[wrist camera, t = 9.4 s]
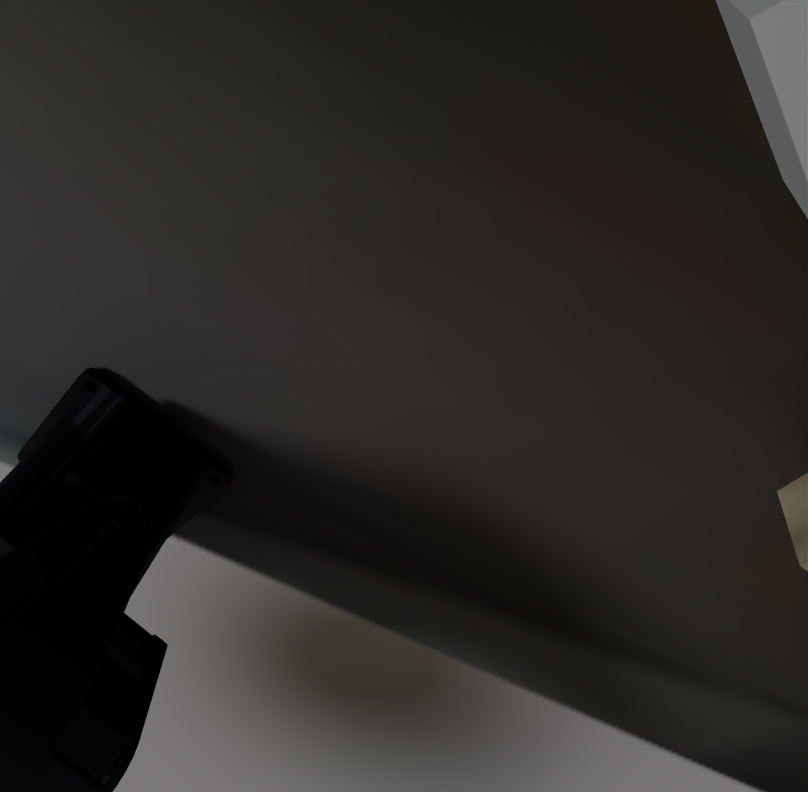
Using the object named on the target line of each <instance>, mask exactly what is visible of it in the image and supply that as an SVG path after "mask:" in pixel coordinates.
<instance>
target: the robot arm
mask: <svg viewBox="0 0 808 792" xmlns="http://www.w3.org/2000/svg"><path fill="white" fill-rule="evenodd" d="M90 380H91V381H93V382H94V383H95V384H96V385H95V384H93V383H92V382H91V381H90ZM18 460H19V461H20V462H19V463H18V464H17V465H16V467H15V468H14V469H13V470H12V471H11V472H10V473H9V474H8V475H7V476H6V477H5V478H4V479H3V480H2V481H1V482H0V792H113V790H114V789H115V788H116V786H117V785H118V783H119V781H120V780H121V778H122V777H123V775H124V773H125V772H126V770H127V768H128V766H129V764H130V762H131V760H132V758H133V756H134V754H135V751H136V749H137V746H138V743H139V740H140V737H141V733H142V730H143V727H144V723H145V720H146V717H147V713H148V710H149V707H150V703H151V700H152V696H153V693H154V690H155V686H156V683H157V680H158V676H159V673H160V670H161V666H162V663H163V659H164V656H165V653H166V649H167V644H166V643H165V642H164V641H163V640H162V639H160V638H159V637H158V636H156V635H153V636H152V635H151V634H150V633H148V632H147V631H146V630H144V629H143V628H142V627H141V626H140V625H139V624H137V623H136V622H135V621H134V620H132V619H131V618H130V617H129V616H127V615H126V614H125V613H124V611H125V609H126V606H127V604H128V601H129V599H130V597H131V595H132V594H133V592H134V590H135V589H136V587H137V585H138V584H139V582H140V581H141V579H142V578H143V576H144V574H145V573H146V571H147V570H148V568H149V566H150V565H151V563H152V561H153V560H154V558H155V556H156V555H157V553H158V552H159V550H160V548H161V547H162V545H163V544H164V542H165V541H166V539H167V538H168V537H170V536H171V535H172V534H173V533H174V532H175V531H177V530H178V529H179V528H180V527H181V526H182V525H184V524H185V523H186V522H187V521H188V520H189V519H190V518H192V517H193V516H194V515H195V514H196V513H197V512H199V511H200V510H201V509H202V508H203V507H204V506H205V505H207V504H208V503H209V502H210V501H211V500H212V499H214V498H215V497H216V496H217V495H218V494H219V493H220V492H222V491H223V490H224V489H225V488H226V487H227V485H228V483H229V482H230V480H231V478H232V473H231V471H230V470H229V469H228V468H227V467H226V466H225V465H224V464H222V463H221V462H220V461H218V460H217V459H216V458H215V457H213V456H212V455H211V454H209V453H208V452H207V451H205V450H204V449H203V448H201V447H200V446H199V445H198V444H196V443H195V442H194V441H192V440H191V439H190V438H188V437H187V436H186V435H184V434H183V433H182V432H180V431H179V430H178V429H177V428H175V427H174V426H173V425H171V424H170V423H169V422H167V421H166V420H165V419H163V418H162V417H161V416H160V415H158V414H157V413H156V412H154V411H153V410H152V409H150V408H149V407H148V406H146V405H145V404H144V403H142V402H141V401H140V400H139V399H137V398H136V397H135V396H133V395H132V394H131V393H129V392H128V391H127V390H125V389H124V388H123V387H121V386H120V385H119V384H118V383H116V382H115V381H114V380H112V379H111V378H110V377H108V376H107V375H106V374H104V373H103V372H102V371H100V370H98V369H95V368H87V369H86V370H85V371H84V372H83V373H82V374H81V375H80V376H79V377H78V378H77V379H76V380H75V382H74V383H73V384H72V385H71V387H70V388H69V389H68V391H67V392H66V393H65V394H64V396H63V397H62V398H61V400H60V401H59V402H58V403H57V405H56V406H55V407H54V408H53V410H52V411H51V412H50V414H49V415H48V416H47V417H46V419H45V420H44V421H43V423H42V424H41V425H40V426H39V428H38V429H37V430H36V431H35V433H34V434H33V435H32V437H31V438H30V439H29V440H28V442H27V443H26V444H25V446H24V447H23V448H22V449H21V451H20V452H19V453H18ZM215 475H217V476H219V477H220V478H219V477H217V476H215Z"/></svg>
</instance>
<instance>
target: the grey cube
mask: <svg viewBox="0 0 808 792" xmlns="http://www.w3.org/2000/svg"><path fill="white" fill-rule="evenodd" d="M716 2H717V5H718V7H719V10H720V13H721V15H722V18H723V21H724V23H725V26H726V29H727V31H728V34H729V37H730V39H731V42H732V45H733V47H734V50H735V53H736V55H737V58H738V61H739V63H740V66H741V69H742V71H743V74H744V77H745V79H746V82H747V85H748V87H749V90H750V93H751V96H752V98H753V101H754V104H755V106H756V109H757V112H758V114H759V117H760V120H761V122H762V125H763V128H764V130H765V133H766V136H767V138H768V141H769V144H770V146H771V149H772V152H773V154H774V157H775V160H776V162H777V165H778V168H779V170H780V173H781V176H782V178H783V180H784V182H785V184H786V185H787V187H788V188H789V190H790V191H791V193H792V195H793V196H794V198H795V199H796V201H797V202H798V204H799V206H800V207H801V209H802V210H803V212H804V213H805V215H806V217H807V218H808V0H716Z"/></svg>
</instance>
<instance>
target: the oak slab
mask: <svg viewBox="0 0 808 792" xmlns="http://www.w3.org/2000/svg"><path fill="white" fill-rule="evenodd" d="M777 493H778V496H779V499H780V502H781V505H782V509H783V512H784V515H785V518H786V522H787V525H788V528H789V531H790V535H791V538H792V541H793V544H794V547H795V551H796V554H797V557H798V560H799V564H800V566H801V567H803V568H804V569H805V570H807V571H808V473H806V474H805V475H803V476H802V477H800V478H798V479H797V480H795V481H793V482H792V483H790V484H788V485H787V486H785V487H783V488H782V489H780V490H778V491H777Z"/></svg>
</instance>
